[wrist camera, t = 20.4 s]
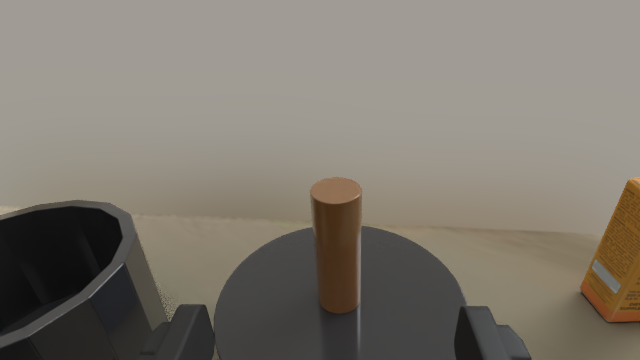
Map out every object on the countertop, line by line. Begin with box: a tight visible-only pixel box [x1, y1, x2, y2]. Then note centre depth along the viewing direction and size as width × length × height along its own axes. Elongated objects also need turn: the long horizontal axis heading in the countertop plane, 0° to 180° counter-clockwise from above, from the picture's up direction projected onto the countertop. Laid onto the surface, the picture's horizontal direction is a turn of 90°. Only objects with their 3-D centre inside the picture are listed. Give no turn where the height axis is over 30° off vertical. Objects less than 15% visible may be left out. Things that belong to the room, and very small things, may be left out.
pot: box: [0, 200, 168, 360], centre depth 23 cm, size 14×14×8 cm
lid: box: [214, 177, 468, 360], centre depth 21 cm, size 15×15×9 cm
